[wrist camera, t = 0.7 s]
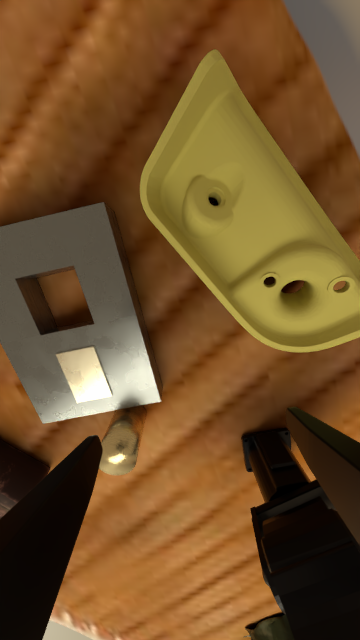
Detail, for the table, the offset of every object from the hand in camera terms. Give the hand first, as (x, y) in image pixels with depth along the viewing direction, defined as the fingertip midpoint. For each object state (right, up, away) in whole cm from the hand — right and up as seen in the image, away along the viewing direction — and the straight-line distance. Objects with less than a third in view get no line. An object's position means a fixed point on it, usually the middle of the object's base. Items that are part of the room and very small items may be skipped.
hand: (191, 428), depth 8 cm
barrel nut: (-7, -7, +15) cm, 18 cm away
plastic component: (+6, +13, +10) cm, 17 cm away
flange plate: (-12, +5, +11) cm, 17 cm away
